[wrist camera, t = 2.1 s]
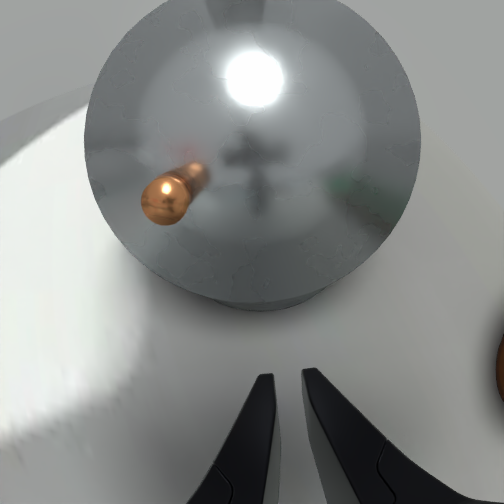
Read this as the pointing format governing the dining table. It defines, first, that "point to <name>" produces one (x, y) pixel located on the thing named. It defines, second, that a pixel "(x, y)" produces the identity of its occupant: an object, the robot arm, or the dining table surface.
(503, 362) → the food container
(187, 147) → the cooker lid
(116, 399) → the dining table surface
